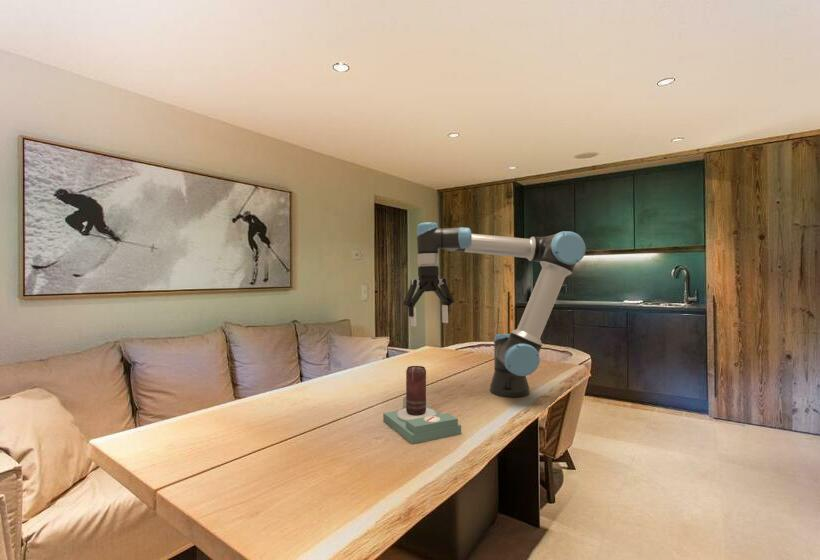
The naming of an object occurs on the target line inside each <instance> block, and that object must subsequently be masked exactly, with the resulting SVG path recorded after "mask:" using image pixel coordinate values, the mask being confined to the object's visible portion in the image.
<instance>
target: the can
mask: <svg viewBox="0 0 820 560" xmlns="http://www.w3.org/2000/svg"><path fill="white" fill-rule="evenodd" d="M405 375H406V379H405V382H406V383H405V384H406V385H405V387H406V389H405V394H406V396H405V397H406V411H407V413H408V414H410V415H422V414H424V413H425V412H426V406H427V370H426V367H424V366H422V365H411V366H410V365H409V366H407V368H406V372H405Z"/></svg>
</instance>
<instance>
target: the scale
mask: <svg viewBox="0 0 820 560" xmlns="http://www.w3.org/2000/svg"><path fill="white" fill-rule="evenodd" d="M383 422H384V423H386V425H388V426H389V427H390V428H391V429H392V430H394V431H395V432H397V434H398V435H400V436H401V437H402V438H404V439H405V440H406V441H408V442H409V443H410V444H411V445H414V444H415V445H416V444H419V443H425V442H428V441H434V440H438V439H444V438H448V437H452V436H458V435H461V434H462V425H461V424H460V423H459V419H458V417H456V416H454V415H452V414H450V413H449V412H444V413H441V412H439V411H438V410H436V409H435V408H432V407H430V406H428V405H426V412H425V413H424V414H422V415H410V414H408V413H407V411H406V408H404V409H403V408H401V409H399V410H394V411H387V412H383Z"/></svg>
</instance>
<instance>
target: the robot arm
mask: <svg viewBox="0 0 820 560" xmlns="http://www.w3.org/2000/svg"><path fill="white" fill-rule="evenodd" d="M416 241H417V243H416V244H417V246H416V247H417V265H418V267H417V276H418V279H413V278H412V279H411V280H410V285H409V289H408V291H407V293H406V296H405V298H404V301H403V303H402V304H403V307H406V308H407V309H408V317H410V326H411V327H417V308H416V307H415V306H416V304H417V302H418V301H419V300H420V298H421V296H422V295H423V294H424V293H425V292H434V293H435V295H436V296H437V297H438V298H439V300H440V301H441V302H442V305H441V322H442V323H443V324H449V314H450V306H451V305H452V304H453V303H454V302H455V301H454V299H453V295H452V294H451V291H450V290H449V287H448V285H447V279H446V278H439V275H440V273H439V272H440V271H439V269H440V268H439V262H440V261H439V250H445V251H446V252H452V253H453V252H459V253H470V254H480V255H492V256H500V257H501V256H502V257H503V256H504V257H514V258H523V259H527V261H529V262H537V263H539V264H540V266H541V270H540V272H539V274H538V277H537V280H536V281H535V285H534V287H533V290H532V292H531V294H530V296H529V300H528V302H527V304H526V306H525V309H524V312H523V313H522V316H521V319H520V321H519V323H518V325H517V328H516V329H513V330H511V332H510V333H497V334H495V336H494V341H493V344H494V346H493V347H494V351H493V352H494V359H493V360H494V361H493V363H494V370H493V371H494V372H493V375H492V379H491V382H490V386H489V391H490V393H491V394H493V395H496V396H498V397H499V396H501V397H507V398H521V397H523V398H524V397H526V396H529V394H530V385H529V383H528V380H527V376H530V375H532V374H533V373H534V372H536V370H537V369H539V366H540V362H541V359H540V351H541V350H542V349H541V348H542V347H543V343H542V341H541V336H542V334H543V332H544V330H545V328H546V325H547V322H548V320H549V318H550V315H551V313H552V311H553V308H554V306H555V303H556V301H557V298H558V296H559V294H560V291H561V289H562V286H563V284H564V281H565V278H566V277H568V276H570V275H572V274H573V271H574V269H575V266H576V264H578V263H580V261H582V259H584V256H585V255H586V249H587V248H586V243H585V242H584V239H583V238H582V237H581V235H580V234H578V233H576V232H574V231H570V230H569V231H565V230H563V231H560V232H557V233H555V234H554V233H553V234H551V235H547V236H531V237H530V238H523V237H522V238H521V237H512V236H503V235H491V234H479V233H472V230H471V229H470V227H462V226H460V227H445V228H443V227H442V228H441V227H439V226H438V223H437V222H434V221H433V222H431V221H429V222H428V221H427V222H421V223H419V224H417V228H416ZM439 285H440V287H439ZM418 286H419V287H418ZM417 287H418V288H417ZM416 289H417V290H416Z"/></svg>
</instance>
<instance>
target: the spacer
mask: <svg viewBox="0 0 820 560" xmlns="http://www.w3.org/2000/svg"><path fill="white" fill-rule="evenodd" d="M404 408H406V396H404V397H402V409H404Z"/></svg>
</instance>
